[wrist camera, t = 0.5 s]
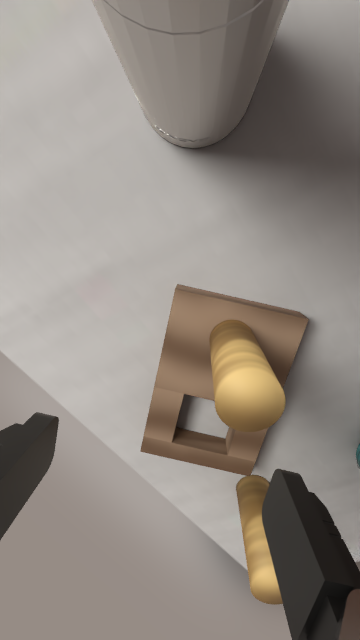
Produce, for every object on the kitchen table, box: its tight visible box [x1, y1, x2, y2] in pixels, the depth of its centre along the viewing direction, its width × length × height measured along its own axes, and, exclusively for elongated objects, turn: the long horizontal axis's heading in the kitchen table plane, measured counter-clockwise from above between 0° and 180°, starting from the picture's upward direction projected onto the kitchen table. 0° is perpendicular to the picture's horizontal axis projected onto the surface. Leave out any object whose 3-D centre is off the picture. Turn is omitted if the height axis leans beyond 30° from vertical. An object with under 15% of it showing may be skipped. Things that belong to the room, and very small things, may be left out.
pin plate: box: [141, 284, 309, 476], centre depth 24 cm, size 18×12×12 cm, turn 168°
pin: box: [236, 475, 283, 604], centre depth 29 cm, size 4×4×10 cm
